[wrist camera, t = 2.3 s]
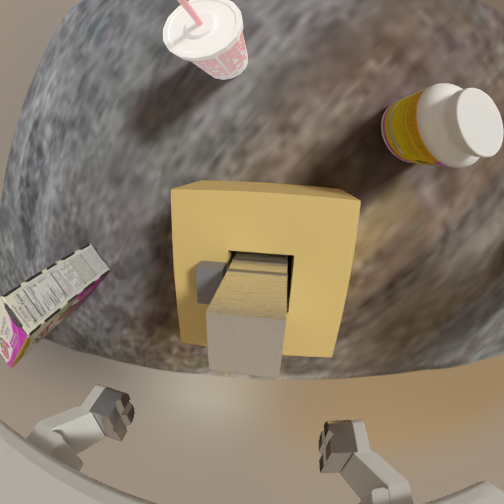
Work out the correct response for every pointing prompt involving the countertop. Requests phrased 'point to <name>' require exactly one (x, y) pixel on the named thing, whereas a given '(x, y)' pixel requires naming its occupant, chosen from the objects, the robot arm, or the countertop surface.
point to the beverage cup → (208, 36)
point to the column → (249, 316)
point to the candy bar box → (47, 301)
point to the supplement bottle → (443, 126)
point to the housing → (266, 241)
